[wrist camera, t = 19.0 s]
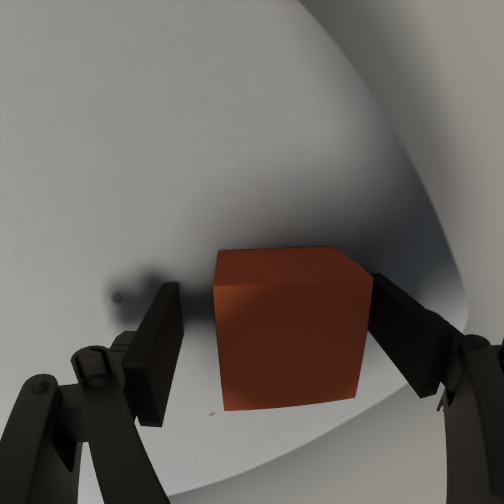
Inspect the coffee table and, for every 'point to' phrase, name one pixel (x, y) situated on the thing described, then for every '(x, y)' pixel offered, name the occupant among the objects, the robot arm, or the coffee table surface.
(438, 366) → the robot arm
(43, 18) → the coffee table surface
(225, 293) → the orange block
